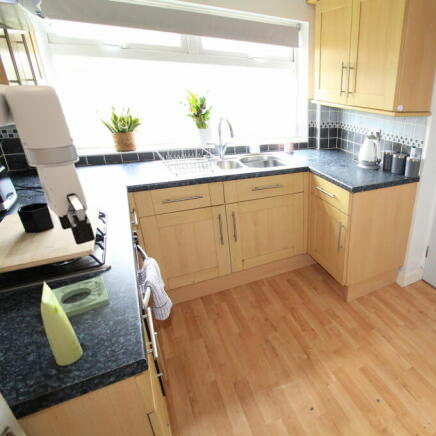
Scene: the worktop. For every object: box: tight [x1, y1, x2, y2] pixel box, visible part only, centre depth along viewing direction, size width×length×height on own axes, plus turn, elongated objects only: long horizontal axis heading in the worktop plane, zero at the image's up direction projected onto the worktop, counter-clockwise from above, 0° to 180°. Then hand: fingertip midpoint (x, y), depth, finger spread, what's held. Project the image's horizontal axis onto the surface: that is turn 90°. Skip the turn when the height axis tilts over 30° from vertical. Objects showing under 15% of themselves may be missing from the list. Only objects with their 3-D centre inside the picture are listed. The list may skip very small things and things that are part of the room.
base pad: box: [51, 275, 111, 319], centre depth 91 cm, size 14×14×3 cm
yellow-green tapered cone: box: [40, 280, 84, 367], centre depth 70 cm, size 6×5×20 cm
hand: (78, 234), depth 68 cm, fingers open, 9 cm apart
